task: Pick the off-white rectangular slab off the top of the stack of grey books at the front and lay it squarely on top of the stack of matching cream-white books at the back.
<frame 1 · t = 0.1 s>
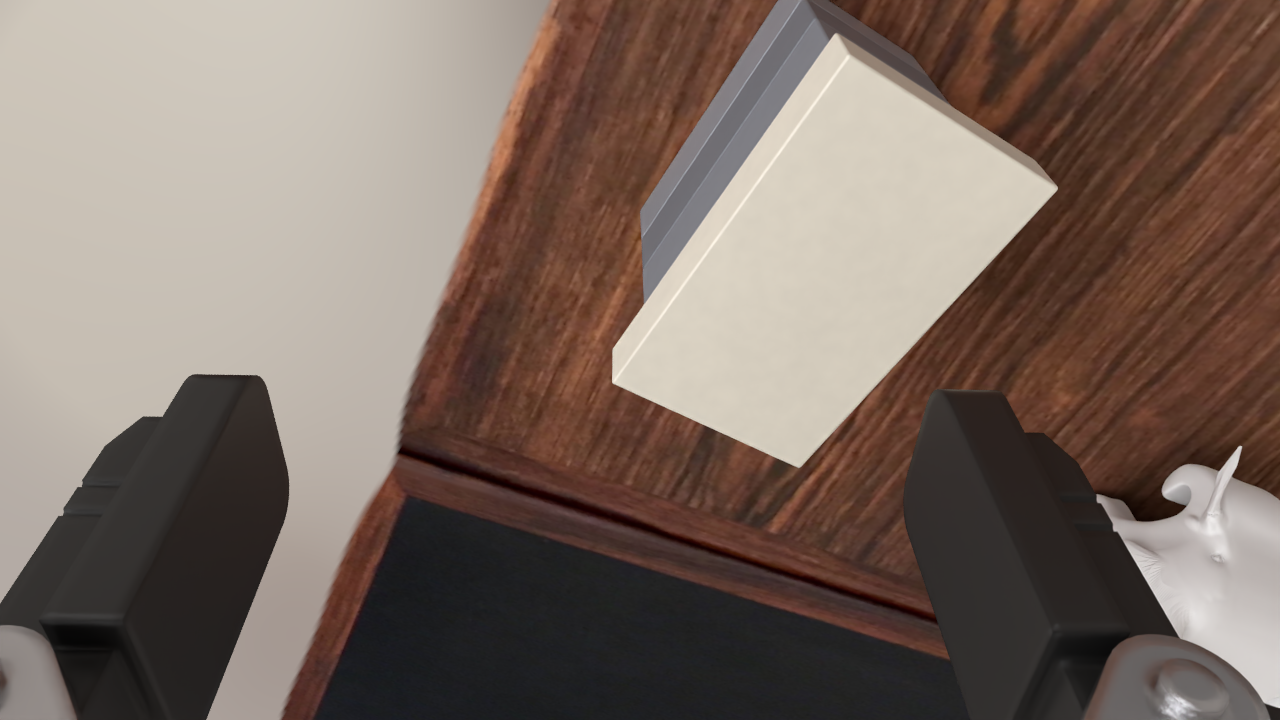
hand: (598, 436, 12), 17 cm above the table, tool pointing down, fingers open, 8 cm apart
grey books: (769, 137, 28), on the table, touching off-white rectangular slab
elephant figurine: (1129, 519, 38), on the table
off-white rectangular slab: (810, 260, 22), point 7 cm above the table, touching grey books
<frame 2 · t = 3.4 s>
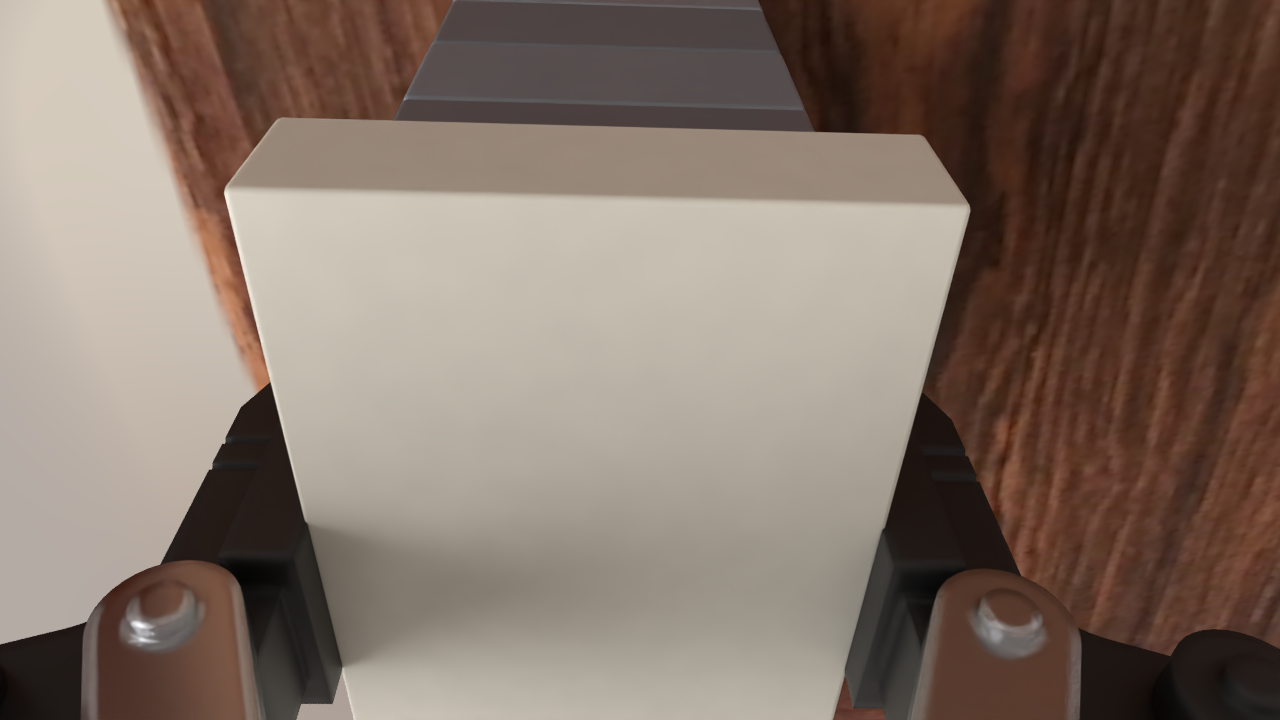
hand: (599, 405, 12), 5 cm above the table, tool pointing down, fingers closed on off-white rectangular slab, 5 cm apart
grey books: (605, 209, 16), on the table, touching off-white rectangular slab
off-white rectangular slab: (599, 503, 11), point 7 cm above the table, touching grey books, gripper
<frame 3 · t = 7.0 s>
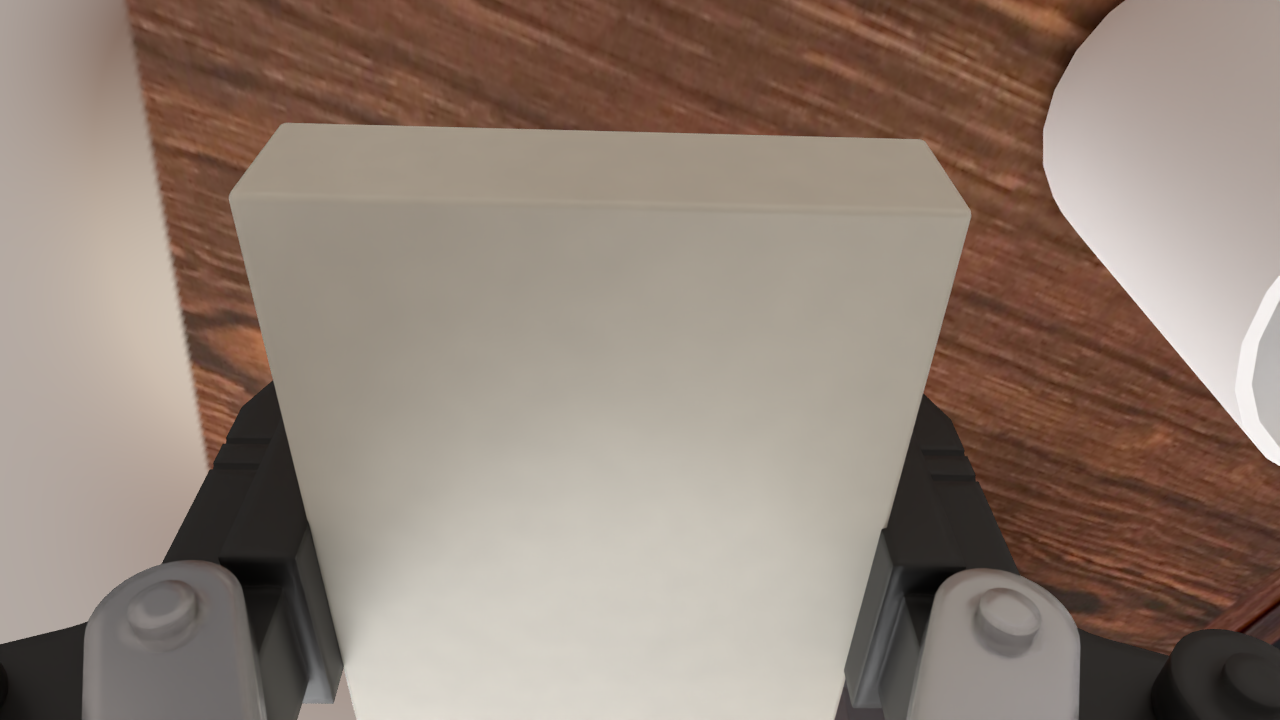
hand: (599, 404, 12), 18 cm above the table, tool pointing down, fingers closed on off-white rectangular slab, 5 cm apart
grey books: (859, 632, 43), on the table
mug: (1219, 64, 28), on the table
off-white rectangular slab: (601, 506, 11), point 19 cm above the table, touching gripper
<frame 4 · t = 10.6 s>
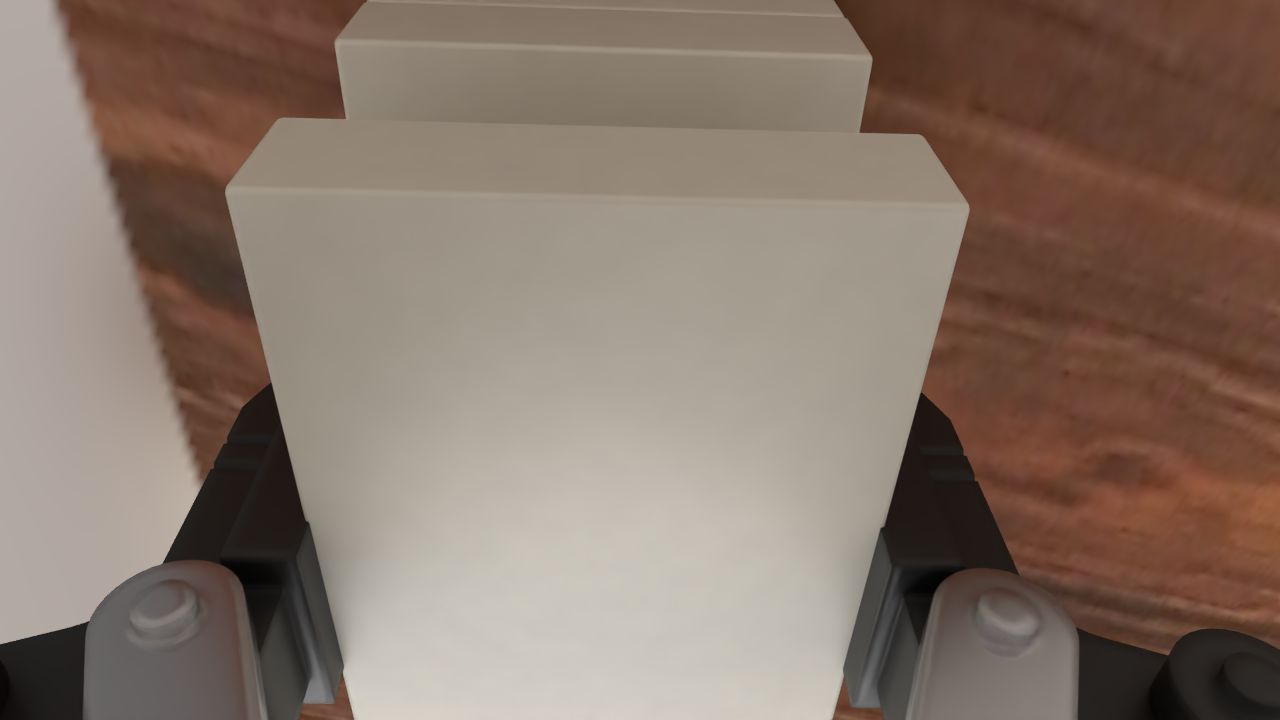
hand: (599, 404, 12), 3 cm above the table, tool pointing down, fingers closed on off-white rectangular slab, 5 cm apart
white books: (603, 282, 14), on the table
off-white rectangular slab: (599, 502, 11), point 5 cm above the table, touching gripper
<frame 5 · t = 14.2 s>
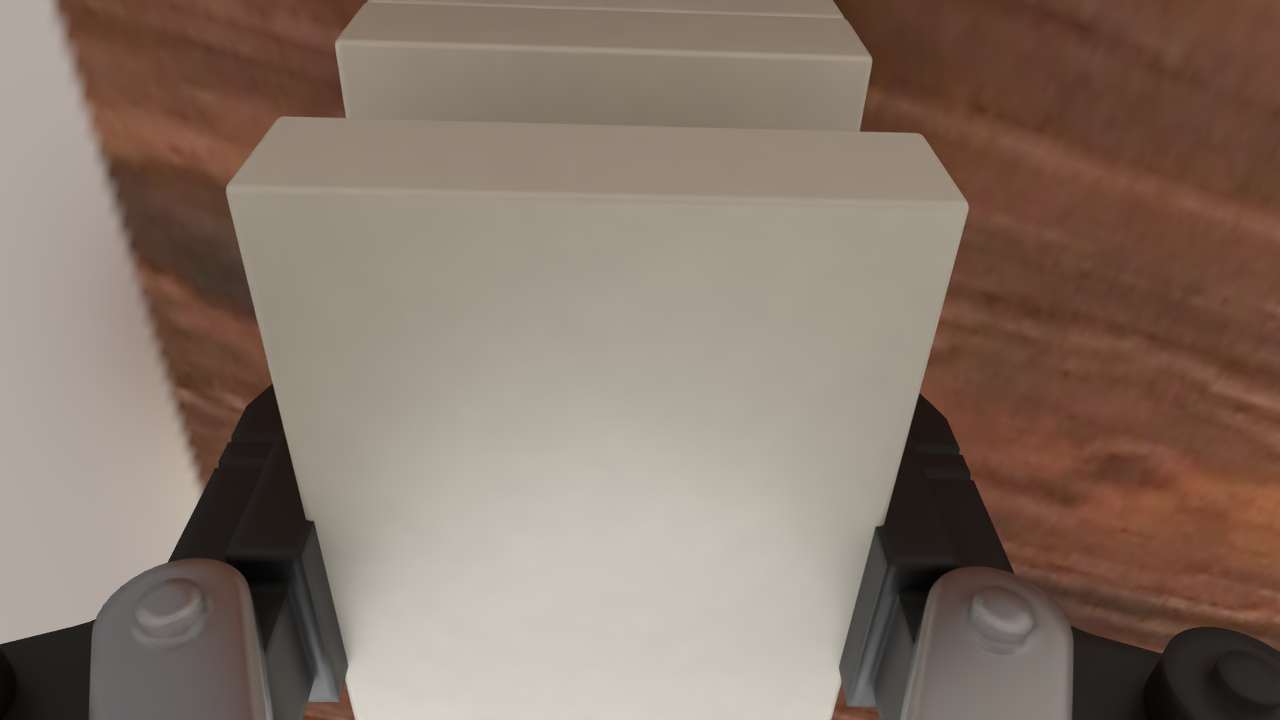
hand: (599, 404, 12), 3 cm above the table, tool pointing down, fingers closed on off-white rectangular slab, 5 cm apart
white books: (603, 283, 14), on the table
off-white rectangular slab: (599, 501, 11), point 5 cm above the table, touching gripper
when the fingers open (4 cm above the table, at t = 17.2 s): off-white rectangular slab drops 3 cm, resting on white books.
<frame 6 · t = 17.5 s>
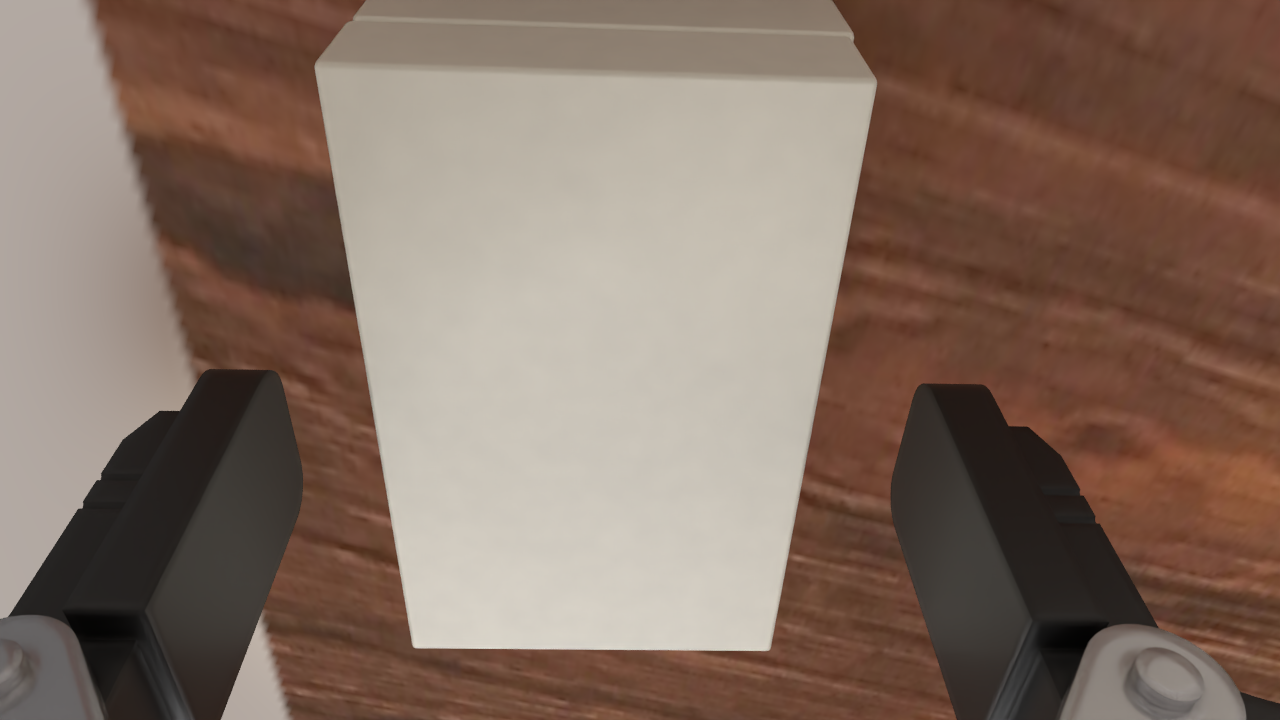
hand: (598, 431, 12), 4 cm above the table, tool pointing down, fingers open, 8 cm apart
white books: (603, 256, 15), on the table, touching off-white rectangular slab
off-white rectangular slab: (597, 360, 13), point 3 cm above the table, touching white books
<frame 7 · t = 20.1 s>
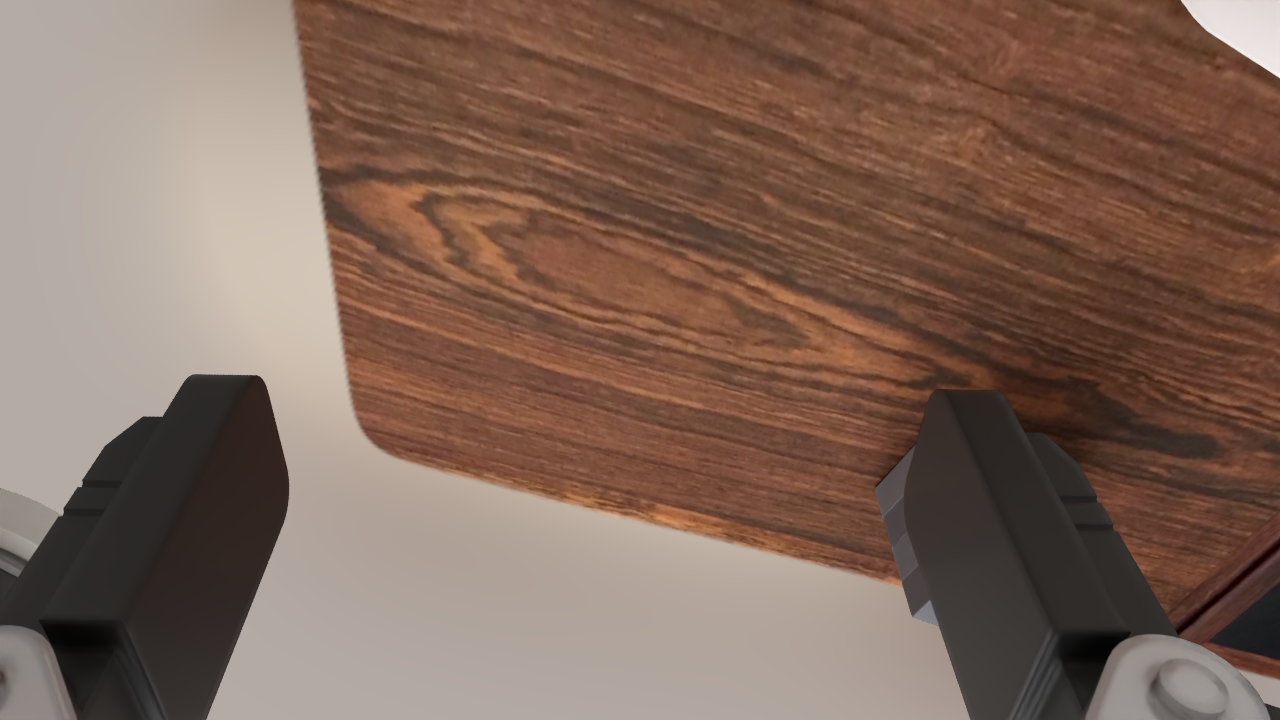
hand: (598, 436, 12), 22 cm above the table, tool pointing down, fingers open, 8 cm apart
grey books: (971, 487, 43), on the table
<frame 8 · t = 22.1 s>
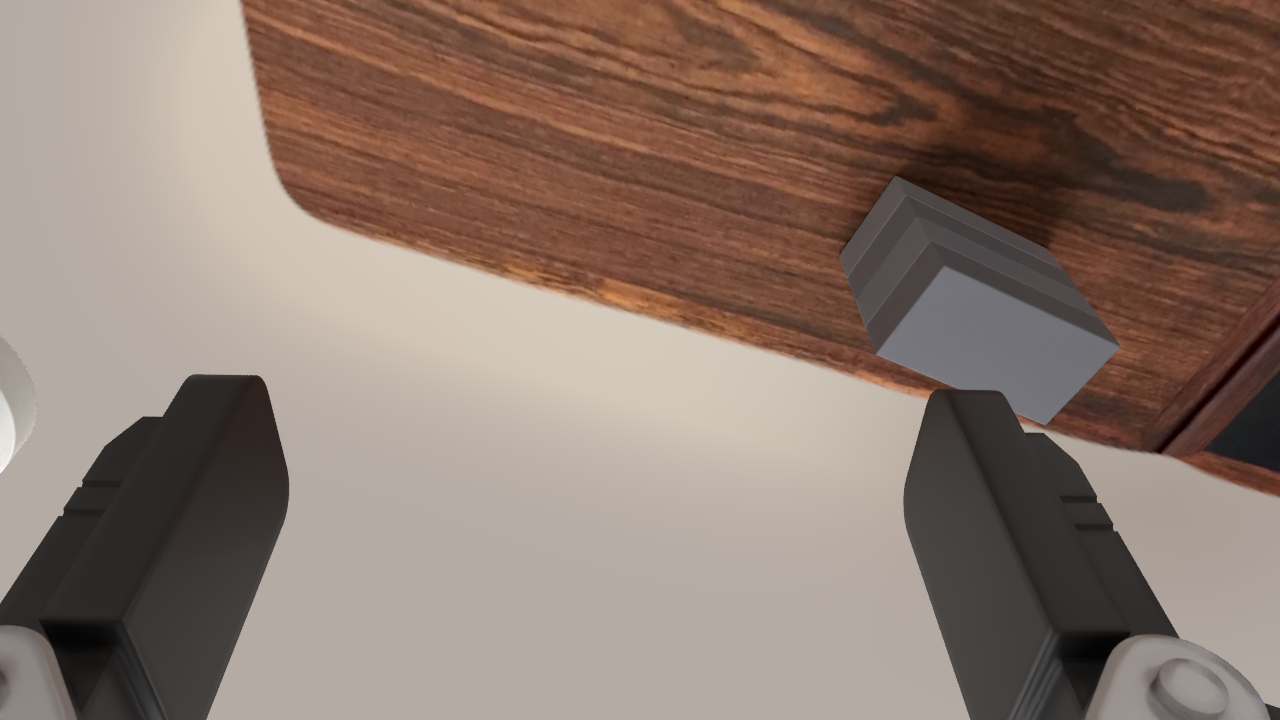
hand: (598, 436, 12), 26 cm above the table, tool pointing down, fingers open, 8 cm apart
grey books: (943, 252, 40), on the table
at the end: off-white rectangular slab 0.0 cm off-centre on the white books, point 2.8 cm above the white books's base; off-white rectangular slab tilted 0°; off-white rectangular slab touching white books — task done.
